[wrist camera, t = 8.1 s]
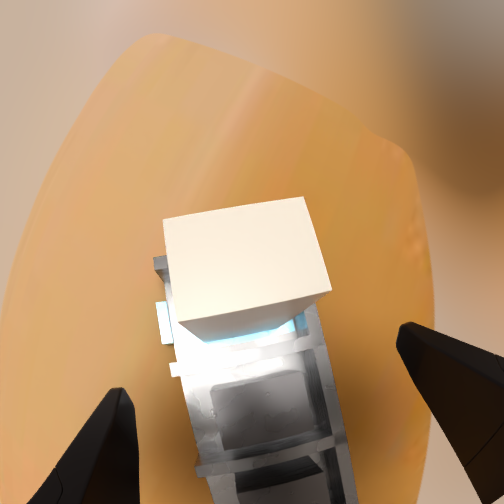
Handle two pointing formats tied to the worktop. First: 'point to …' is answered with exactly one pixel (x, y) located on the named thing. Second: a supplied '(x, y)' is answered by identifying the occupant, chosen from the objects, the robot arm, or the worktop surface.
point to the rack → (262, 411)
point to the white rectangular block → (244, 268)
